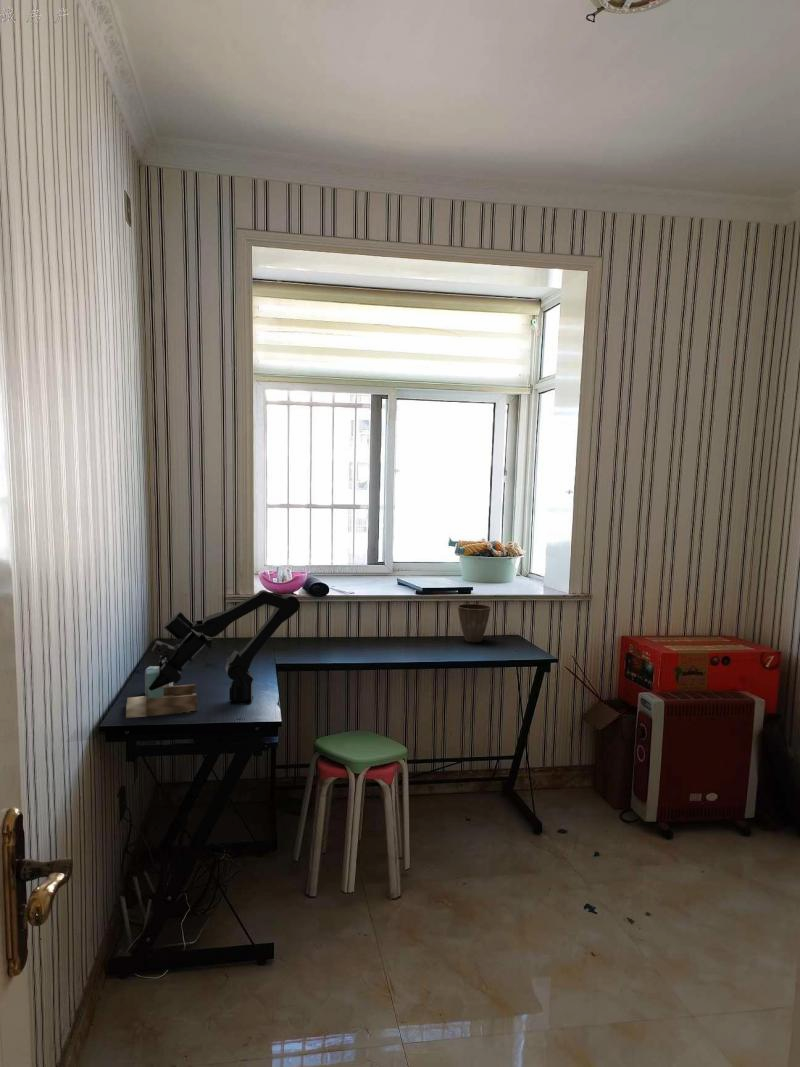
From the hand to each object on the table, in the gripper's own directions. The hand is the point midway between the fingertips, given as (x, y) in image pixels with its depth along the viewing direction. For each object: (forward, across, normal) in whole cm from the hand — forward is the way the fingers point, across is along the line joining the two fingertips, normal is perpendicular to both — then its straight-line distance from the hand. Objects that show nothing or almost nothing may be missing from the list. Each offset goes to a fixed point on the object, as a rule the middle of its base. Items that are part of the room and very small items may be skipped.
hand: (149, 687), depth 200 cm
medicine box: (+3, -16, +7) cm, 18 cm away
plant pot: (-94, -58, +103) cm, 151 cm away
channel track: (+3, 0, +7) cm, 8 cm away
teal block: (+2, 0, +4) cm, 5 cm away
